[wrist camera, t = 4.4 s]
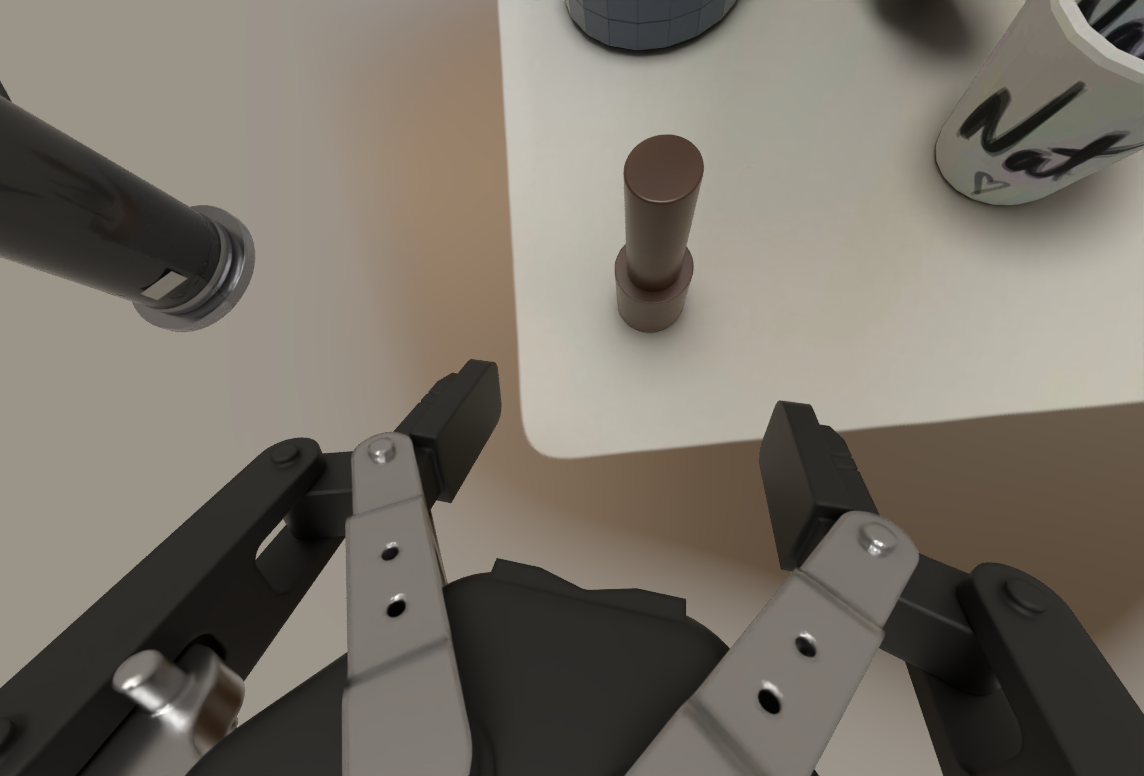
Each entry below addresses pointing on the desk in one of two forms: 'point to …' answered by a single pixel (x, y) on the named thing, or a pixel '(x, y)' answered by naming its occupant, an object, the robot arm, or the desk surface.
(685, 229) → the pestle
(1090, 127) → the mug
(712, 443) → the desk surface
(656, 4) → the bowl
